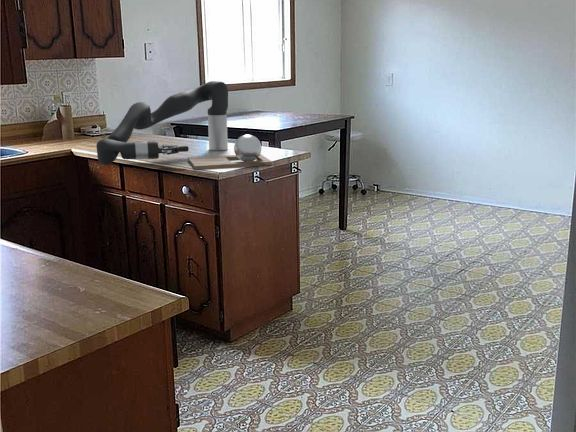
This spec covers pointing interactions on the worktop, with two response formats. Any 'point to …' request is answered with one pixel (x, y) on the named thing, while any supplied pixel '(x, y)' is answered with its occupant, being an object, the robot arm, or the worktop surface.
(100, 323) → the worktop surface
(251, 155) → the ball
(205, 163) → the wooden tray
